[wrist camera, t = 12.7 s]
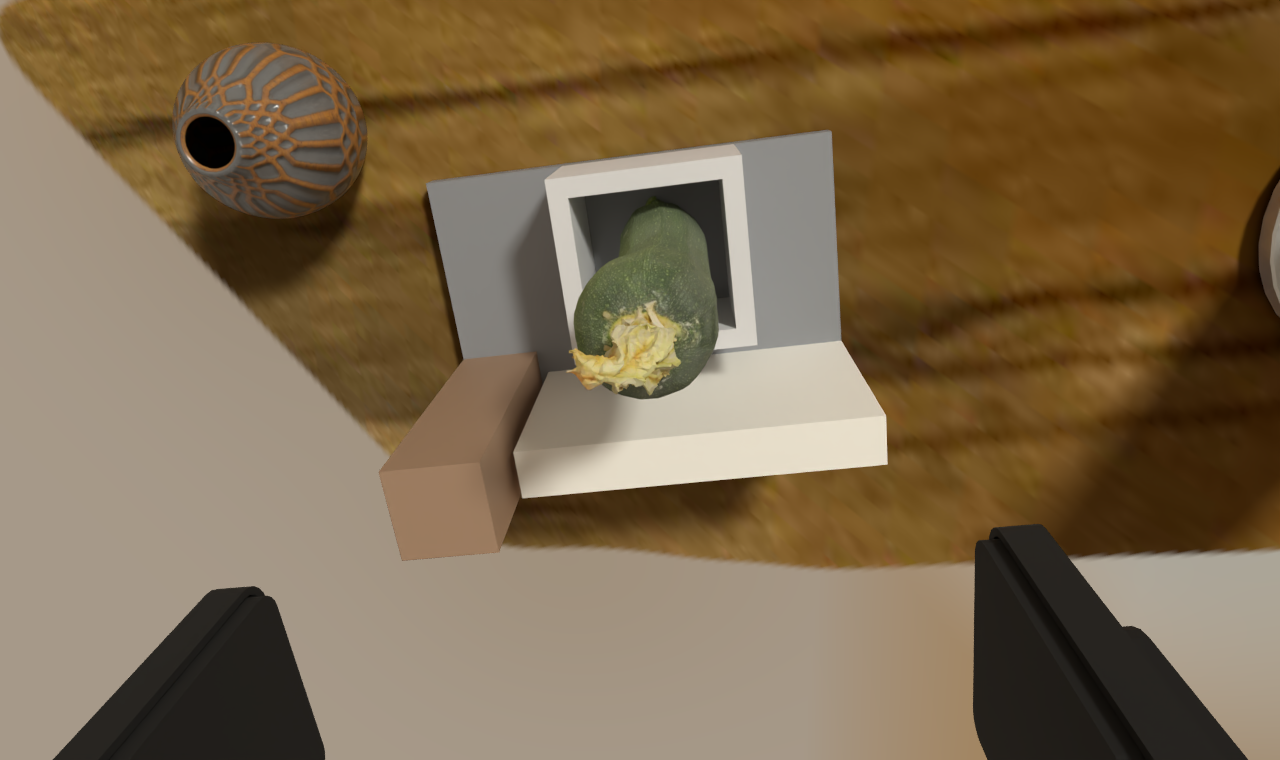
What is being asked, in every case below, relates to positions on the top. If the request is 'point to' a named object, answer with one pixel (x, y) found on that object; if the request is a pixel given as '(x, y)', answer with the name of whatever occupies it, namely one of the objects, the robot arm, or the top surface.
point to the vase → (269, 130)
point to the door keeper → (599, 419)
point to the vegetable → (648, 308)
